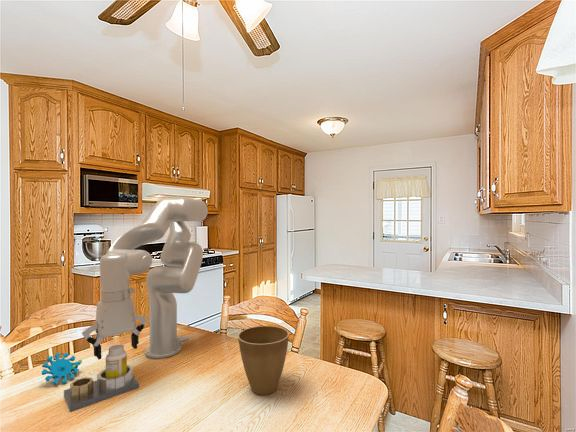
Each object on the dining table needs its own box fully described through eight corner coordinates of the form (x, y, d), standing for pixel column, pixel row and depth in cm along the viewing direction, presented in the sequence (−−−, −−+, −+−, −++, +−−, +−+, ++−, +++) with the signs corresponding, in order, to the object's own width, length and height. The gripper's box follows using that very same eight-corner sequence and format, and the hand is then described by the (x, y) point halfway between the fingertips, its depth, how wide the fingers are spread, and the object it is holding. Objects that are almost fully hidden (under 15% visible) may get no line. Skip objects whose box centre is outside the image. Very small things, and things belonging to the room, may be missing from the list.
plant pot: (295, 379, 99) (295, 328, 99) (278, 407, 85) (278, 347, 85) (251, 372, 104) (251, 322, 104) (228, 396, 90) (228, 339, 90)
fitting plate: (128, 375, 102) (128, 361, 102) (139, 387, 95) (138, 372, 95) (63, 395, 90) (63, 379, 90) (70, 411, 83) (69, 394, 83)
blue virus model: (46, 386, 92) (40, 355, 97) (38, 397, 94) (32, 366, 99) (87, 375, 101) (79, 347, 106) (79, 385, 103) (71, 357, 108)
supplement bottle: (123, 374, 99) (123, 341, 99) (129, 381, 95) (129, 347, 95) (103, 381, 95) (103, 346, 95) (108, 388, 91) (108, 352, 91)
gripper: (141, 287, 103) (143, 340, 104) (78, 298, 92) (80, 357, 92) (150, 292, 98) (151, 347, 99) (84, 304, 86) (86, 367, 87)
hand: (117, 352), depth 96 cm, fingers open, 9 cm apart
